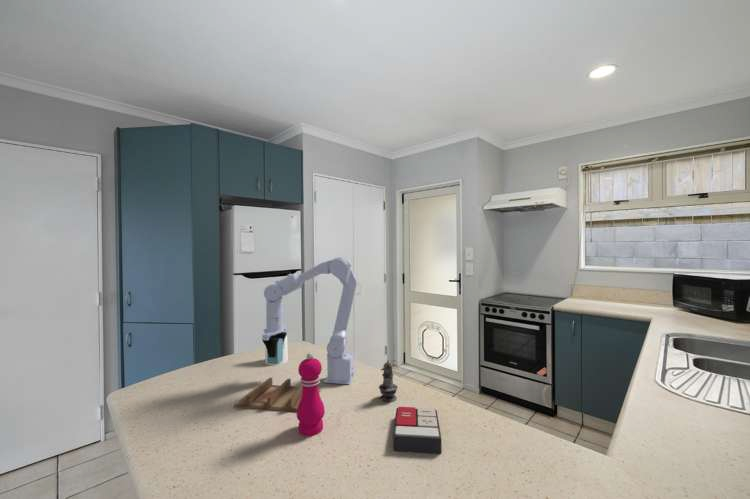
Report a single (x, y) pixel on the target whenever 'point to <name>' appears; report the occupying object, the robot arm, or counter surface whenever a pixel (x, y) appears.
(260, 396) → the slot rack
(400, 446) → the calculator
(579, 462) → the counter surface
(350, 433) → the counter surface
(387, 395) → the dark grey tall piece
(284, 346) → the cylinder with rectangular tab
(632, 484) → the counter surface
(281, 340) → the plug block
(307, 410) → the pepper mill
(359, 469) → the counter surface
